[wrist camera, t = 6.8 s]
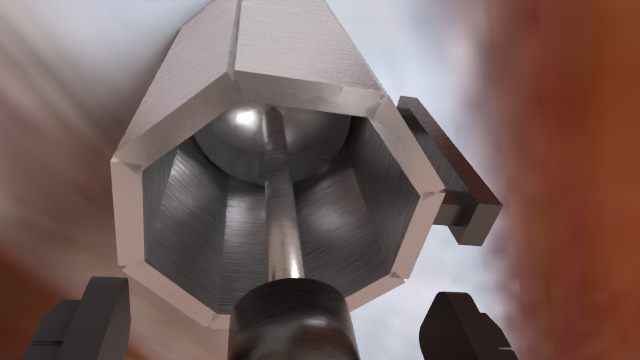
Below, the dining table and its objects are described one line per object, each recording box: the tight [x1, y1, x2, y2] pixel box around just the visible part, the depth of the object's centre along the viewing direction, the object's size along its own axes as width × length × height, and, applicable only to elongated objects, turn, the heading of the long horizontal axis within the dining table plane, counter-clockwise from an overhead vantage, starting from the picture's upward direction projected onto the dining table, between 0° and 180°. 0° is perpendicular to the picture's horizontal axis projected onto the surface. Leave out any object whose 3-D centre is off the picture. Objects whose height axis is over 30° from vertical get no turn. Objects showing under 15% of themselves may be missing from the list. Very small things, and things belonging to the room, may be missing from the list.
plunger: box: [194, 101, 360, 360], centre depth 15 cm, size 8×8×15 cm
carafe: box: [110, 0, 503, 329], centre depth 20 cm, size 10×13×14 cm
